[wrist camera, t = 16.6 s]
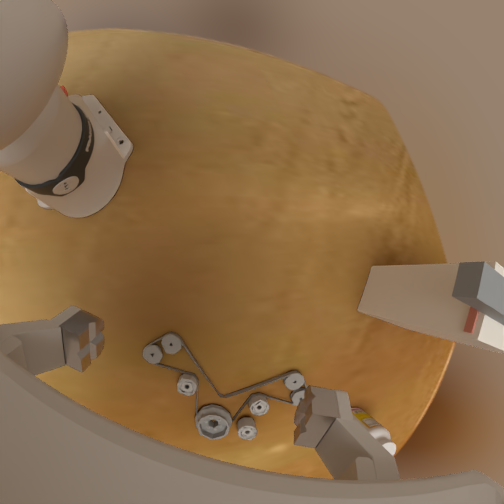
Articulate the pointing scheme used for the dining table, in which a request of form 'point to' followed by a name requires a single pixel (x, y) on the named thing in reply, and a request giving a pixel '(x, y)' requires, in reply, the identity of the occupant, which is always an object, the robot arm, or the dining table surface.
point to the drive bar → (481, 289)
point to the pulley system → (215, 412)
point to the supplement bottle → (374, 429)
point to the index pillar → (429, 304)
